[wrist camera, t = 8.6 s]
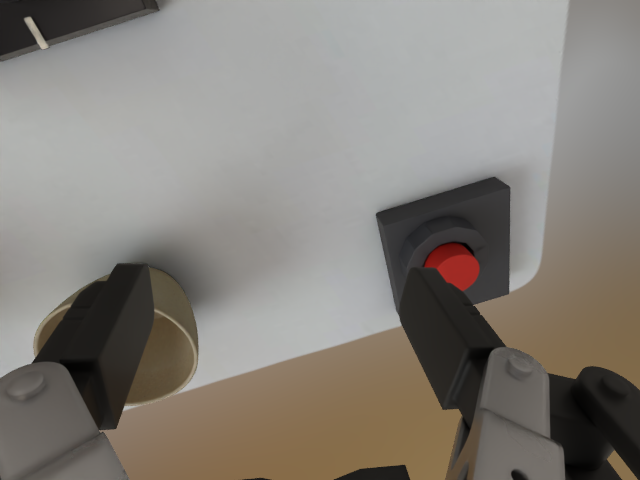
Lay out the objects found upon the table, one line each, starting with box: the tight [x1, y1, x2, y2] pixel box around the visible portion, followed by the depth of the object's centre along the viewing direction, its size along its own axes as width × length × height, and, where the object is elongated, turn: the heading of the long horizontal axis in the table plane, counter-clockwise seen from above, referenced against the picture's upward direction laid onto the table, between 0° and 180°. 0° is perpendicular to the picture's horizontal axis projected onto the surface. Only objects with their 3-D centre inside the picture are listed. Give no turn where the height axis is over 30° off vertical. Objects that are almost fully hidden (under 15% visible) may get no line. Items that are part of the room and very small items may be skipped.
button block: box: [376, 177, 510, 315], centre depth 31 cm, size 11×10×4 cm
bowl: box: [33, 267, 198, 406], centre depth 27 cm, size 10×10×7 cm
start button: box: [425, 243, 480, 291], centre depth 28 cm, size 4×4×2 cm
